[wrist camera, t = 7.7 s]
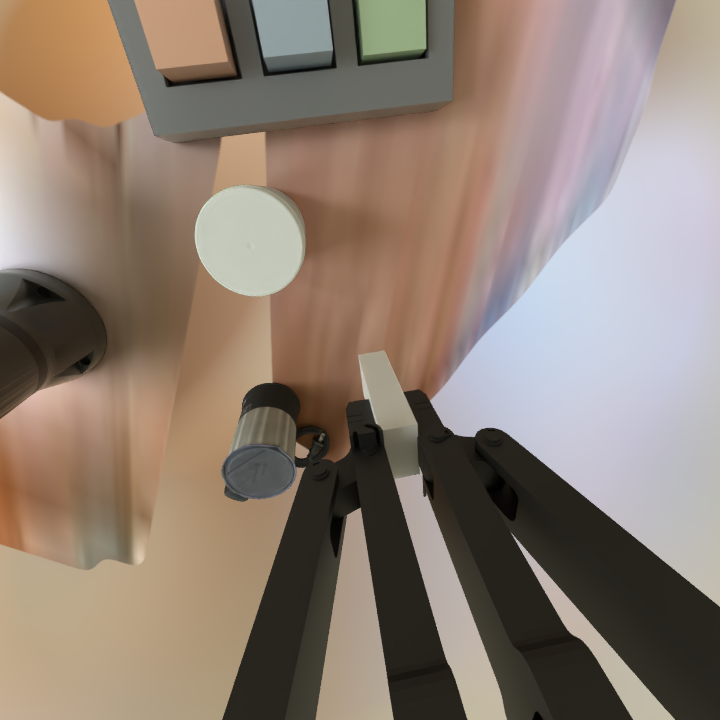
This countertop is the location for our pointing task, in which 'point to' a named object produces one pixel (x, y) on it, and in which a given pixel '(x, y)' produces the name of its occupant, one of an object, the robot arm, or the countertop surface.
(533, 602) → the robot arm
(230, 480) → the milk frother
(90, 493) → the countertop surface
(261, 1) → the slate button
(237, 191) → the supplement tub
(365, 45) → the green button
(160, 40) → the terracotta button
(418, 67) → the console
